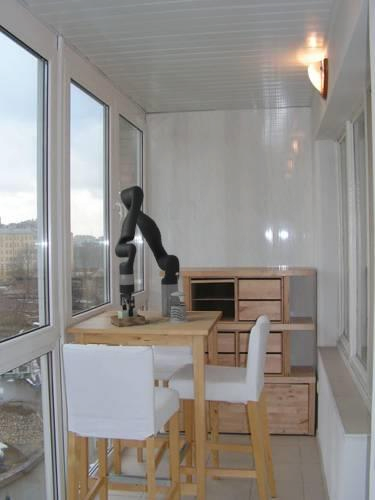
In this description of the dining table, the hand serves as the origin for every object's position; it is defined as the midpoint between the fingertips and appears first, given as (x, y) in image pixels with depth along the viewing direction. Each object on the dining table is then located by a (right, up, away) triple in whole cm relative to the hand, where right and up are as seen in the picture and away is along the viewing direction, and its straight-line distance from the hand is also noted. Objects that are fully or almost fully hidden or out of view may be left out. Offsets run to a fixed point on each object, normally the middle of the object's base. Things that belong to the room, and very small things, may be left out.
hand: (127, 315), depth 273 cm
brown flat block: (0, -4, 0) cm, 4 cm away
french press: (+25, -4, +5) cm, 25 cm away
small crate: (0, -4, 0) cm, 4 cm away
